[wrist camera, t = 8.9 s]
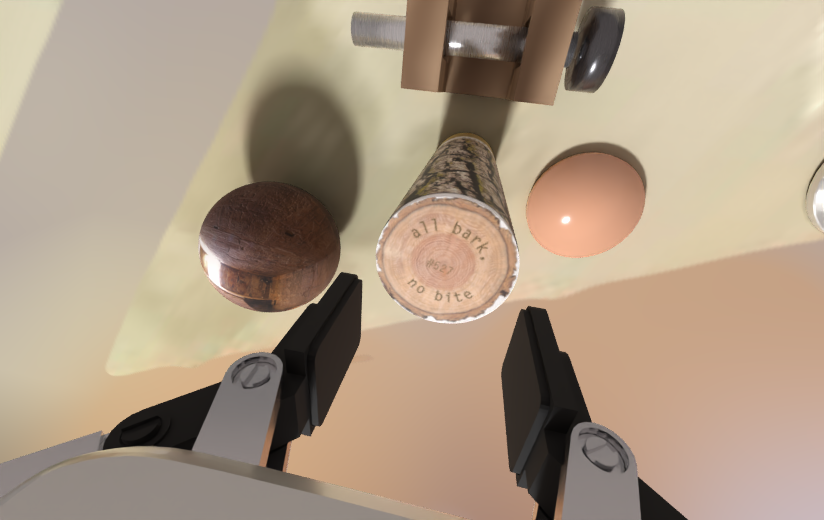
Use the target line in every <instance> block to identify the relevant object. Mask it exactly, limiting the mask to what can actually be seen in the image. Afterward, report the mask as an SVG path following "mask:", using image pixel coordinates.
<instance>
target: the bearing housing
mask: <svg viewBox="0 0 824 520" xmlns="http://www.w3.org/2000/svg"><path fill="white" fill-rule="evenodd" d="M581 3H582V0H407V12H406V25H405V39H404V52H403V66H402V80H401V88H405V89H414V90H423V91H431V92H450V93H459V94H467V95H476V96H485V97H493V98H502V99H508V100H512V101H518V102H527V103H535V104H544V105H553V103H554V100H555V96H556V93H557V89H558V85H559V82H560V78H561V75H562V71H563V67H564V64H565V60H566V57H567V53H568V49H569V46H570V42H571V39H572V35H573V31H574V28H575V24H576V21H577V17H578V13H579V10H580V6H581ZM447 20H451V21H462V22H473V23H484V24H495V25H506V26H517V27H528V28H529V29H528V33H527V38H526V42H525V47H524V51H523V56H522V60H521V63H517V62H507V61H498V60H488V59H478V58H468V57H459V56H449V55H443V52H444V44H445V35H446V27H447Z"/></svg>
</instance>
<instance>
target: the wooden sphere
mask: <svg viewBox="0 0 824 520" xmlns="http://www.w3.org/2000/svg"><path fill="white" fill-rule="evenodd" d="M198 249H199V257H200V262H201V265H202V268H203V270H204V273H205V274H206V276H207V278H208V280H209V281H210V283H211V284H212V285H213V286H214V288H215V289H216V290H217V291H218V292H219V293H220V294H222V295H223V296H224V297H225V298H227V299H228V300H230V301H231V302H233V303H235V304H237V305H239V306H241V307H244V308H247V309H250V310H254V311H260V312H282V311H287V310H291V309H294V308H297V307H300V306H302V305H304V304H306V303H308V302H310V301H311V300H313V299H314V298H315V297H317V296H318V295H319V294H320V293H321V292H322V291H323V290H324V289H325V288H326V287H327V286H328V284H329V283H330V281H331V280H332V278H333V276H334V274H335V272H336V270H337V267H338V263H339V259H340V249H341V247H340V237H339V233H338V229H337V226H336V224H335V222H334V220H333V218H332V216H331V214H330V213H329V212H328V210H327V209H326V208H325V207H324V205H323V204H322V203H321V202H320V201H319V200H317V199H316V198H315V197H314V196H312V195H311V194H309V193H308V192H306V191H304V190H302V189H300V188H298V187H295V186H292V185H289V184H285V183H279V182H257V183H252V184H248V185H245V186H242V187H239V188H237V189H235V190H233V191H231V192H230V193H228V194H226V195H225V196H224V197H222V198H221V199H220V200H219V201H218V202H217V203H216V204H215V205H214V206H213V207H212V208H211V210H210V211H209V213H208V214H207V216H206V218H205V220H204V222H203V224H202V227H201V230H200V235H199V243H198Z"/></svg>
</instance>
